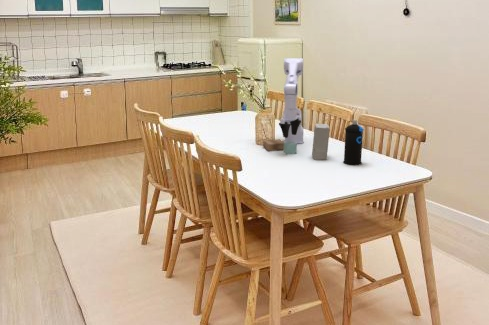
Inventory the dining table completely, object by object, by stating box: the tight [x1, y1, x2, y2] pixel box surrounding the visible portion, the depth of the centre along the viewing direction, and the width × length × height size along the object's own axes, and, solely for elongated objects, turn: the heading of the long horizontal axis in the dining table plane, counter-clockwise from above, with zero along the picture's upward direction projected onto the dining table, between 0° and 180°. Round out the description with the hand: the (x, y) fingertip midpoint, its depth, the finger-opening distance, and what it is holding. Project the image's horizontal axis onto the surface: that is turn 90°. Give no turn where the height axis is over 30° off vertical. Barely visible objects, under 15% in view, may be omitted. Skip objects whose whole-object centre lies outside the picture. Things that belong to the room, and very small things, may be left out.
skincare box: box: [311, 123, 331, 161], centre depth 247 cm, size 8×7×16 cm
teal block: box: [283, 142, 298, 156], centre depth 258 cm, size 5×5×5 cm
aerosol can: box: [342, 119, 365, 166], centre depth 238 cm, size 8×8×20 cm
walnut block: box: [262, 138, 284, 152], centre depth 266 cm, size 9×9×4 cm
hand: (289, 136), depth 256 cm, fingers open, 7 cm apart
